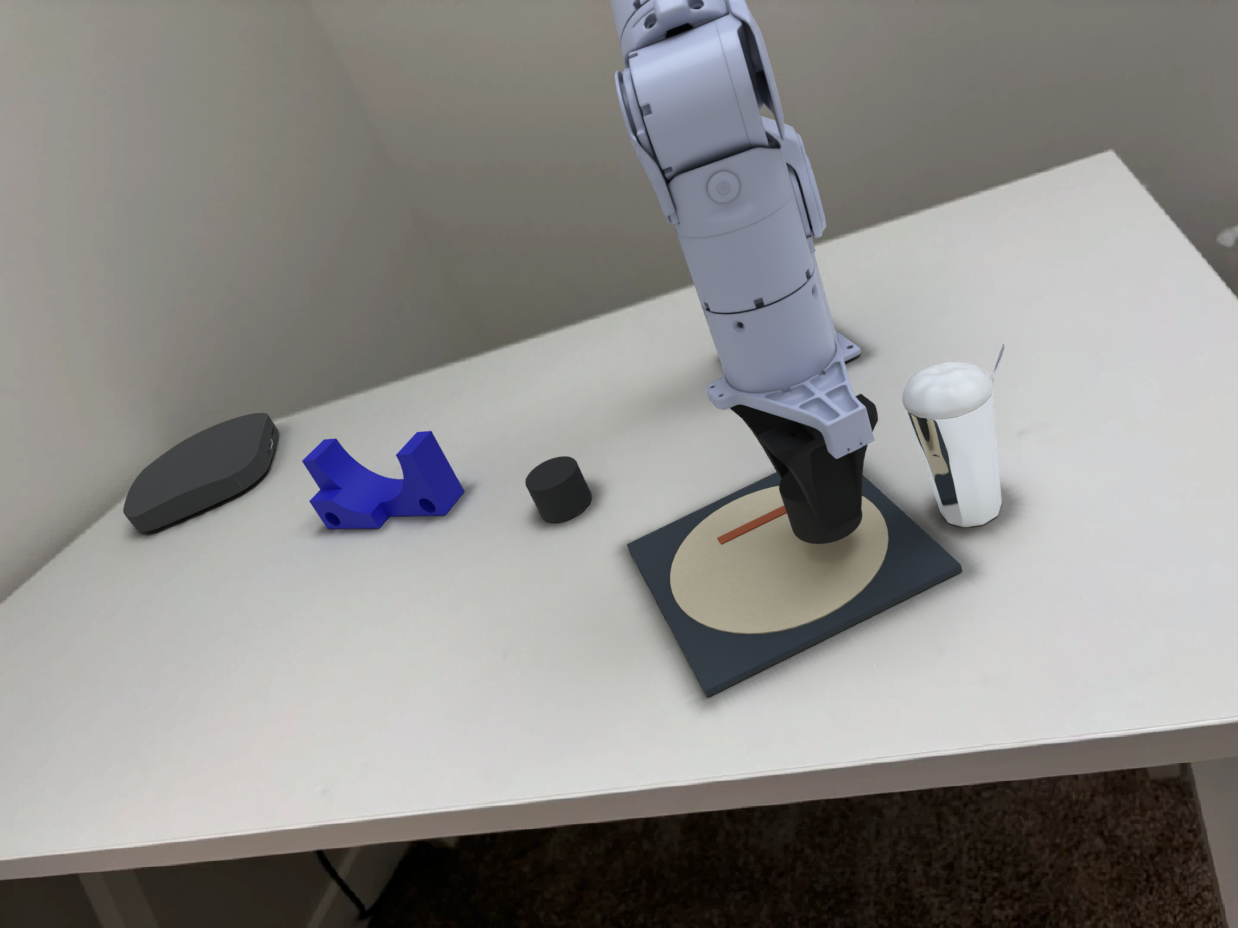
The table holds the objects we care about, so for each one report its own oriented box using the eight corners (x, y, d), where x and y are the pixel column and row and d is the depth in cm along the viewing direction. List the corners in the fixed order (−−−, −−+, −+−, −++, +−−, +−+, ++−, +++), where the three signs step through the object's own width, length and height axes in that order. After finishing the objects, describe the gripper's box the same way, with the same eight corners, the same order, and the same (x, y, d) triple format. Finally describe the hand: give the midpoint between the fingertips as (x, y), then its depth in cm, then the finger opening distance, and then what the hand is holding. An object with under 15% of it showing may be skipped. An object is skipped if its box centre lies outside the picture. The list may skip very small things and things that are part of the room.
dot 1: (536, 504, 71) (520, 472, 69) (584, 481, 71) (570, 448, 70) (546, 530, 67) (530, 497, 66) (597, 506, 68) (582, 473, 66)
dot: (781, 519, 55) (767, 479, 54) (842, 489, 56) (830, 448, 54) (811, 554, 52) (797, 512, 50) (875, 522, 52) (864, 479, 51)
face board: (628, 549, 62) (625, 541, 62) (832, 451, 63) (830, 442, 63) (707, 697, 49) (703, 688, 49) (962, 571, 50) (960, 561, 50)
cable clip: (327, 528, 80) (290, 472, 77) (358, 494, 83) (324, 439, 80) (435, 527, 73) (399, 466, 70) (464, 491, 76) (431, 430, 73)
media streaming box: (128, 545, 91) (109, 522, 90) (162, 473, 104) (145, 452, 102) (268, 485, 91) (251, 460, 90) (284, 420, 104) (270, 398, 102)
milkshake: (1036, 526, 51) (1010, 368, 46) (932, 541, 53) (896, 391, 48) (1023, 475, 54) (998, 324, 49) (926, 491, 56) (892, 347, 51)
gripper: (640, 279, 52) (713, 474, 59) (737, 370, 40) (816, 604, 47) (755, 226, 53) (814, 425, 60) (887, 300, 40) (943, 542, 47)
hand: (822, 500), depth 53 cm, fingers closed on dot, 4 cm apart
